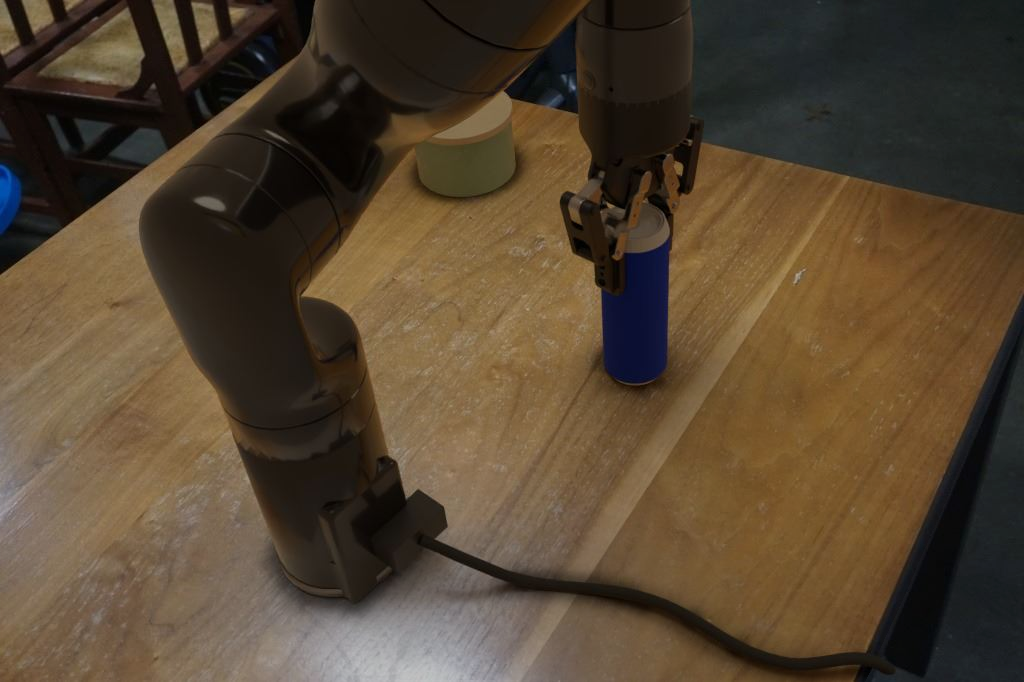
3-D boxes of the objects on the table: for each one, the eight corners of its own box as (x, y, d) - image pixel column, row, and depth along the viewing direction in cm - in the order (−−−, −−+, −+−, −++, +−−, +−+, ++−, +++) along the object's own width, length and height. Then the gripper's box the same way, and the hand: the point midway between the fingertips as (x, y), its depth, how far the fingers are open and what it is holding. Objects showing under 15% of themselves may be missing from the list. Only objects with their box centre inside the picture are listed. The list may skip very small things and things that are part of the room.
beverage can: (668, 346, 92) (671, 199, 81) (665, 390, 88) (668, 243, 78) (606, 343, 92) (601, 198, 82) (601, 387, 89) (595, 241, 78)
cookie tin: (538, 161, 113) (533, 101, 108) (470, 211, 108) (462, 150, 103) (464, 130, 118) (457, 71, 114) (396, 176, 113) (385, 117, 108)
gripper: (612, 137, 66) (616, 342, 77) (744, 38, 73) (730, 239, 85) (518, 100, 70) (535, 301, 81) (652, 10, 77) (650, 206, 89)
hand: (635, 268), depth 83 cm, fingers closed on beverage can, 5 cm apart
